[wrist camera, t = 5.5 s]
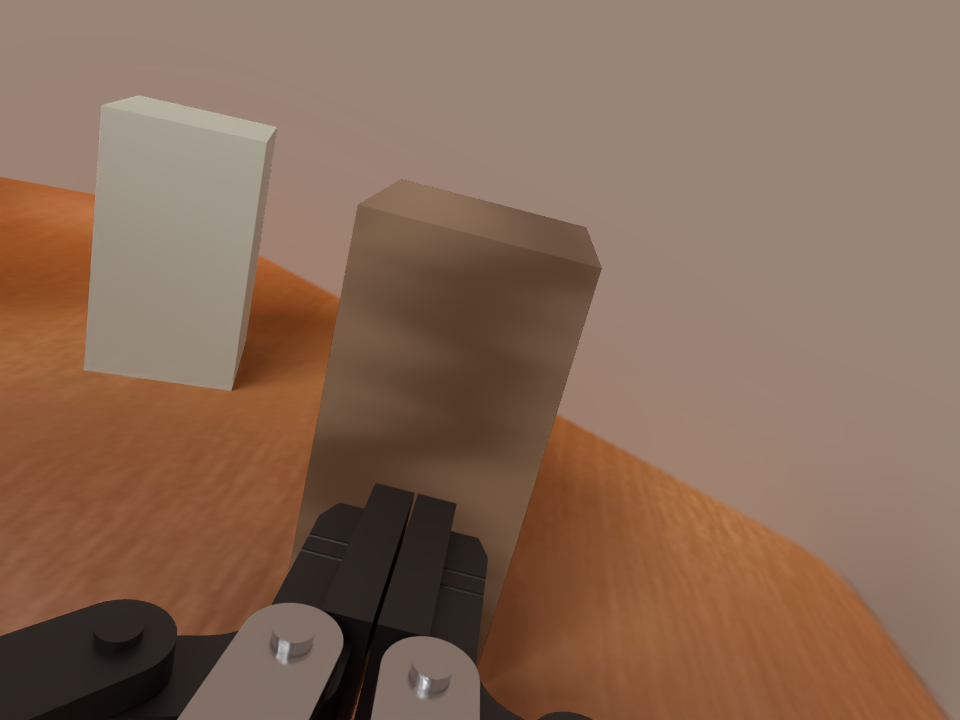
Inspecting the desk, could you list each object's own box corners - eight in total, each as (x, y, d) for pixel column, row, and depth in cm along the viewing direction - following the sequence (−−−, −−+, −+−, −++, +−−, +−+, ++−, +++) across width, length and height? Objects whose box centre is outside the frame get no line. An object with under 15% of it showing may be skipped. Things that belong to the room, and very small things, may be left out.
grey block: (84, 370, 29) (101, 105, 25) (120, 322, 34) (139, 95, 30) (231, 391, 30) (267, 142, 27) (245, 341, 35) (276, 127, 32)
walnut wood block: (276, 639, 18) (357, 204, 15) (329, 529, 23) (401, 179, 19) (471, 688, 19) (601, 268, 15) (484, 569, 23) (585, 227, 20)
